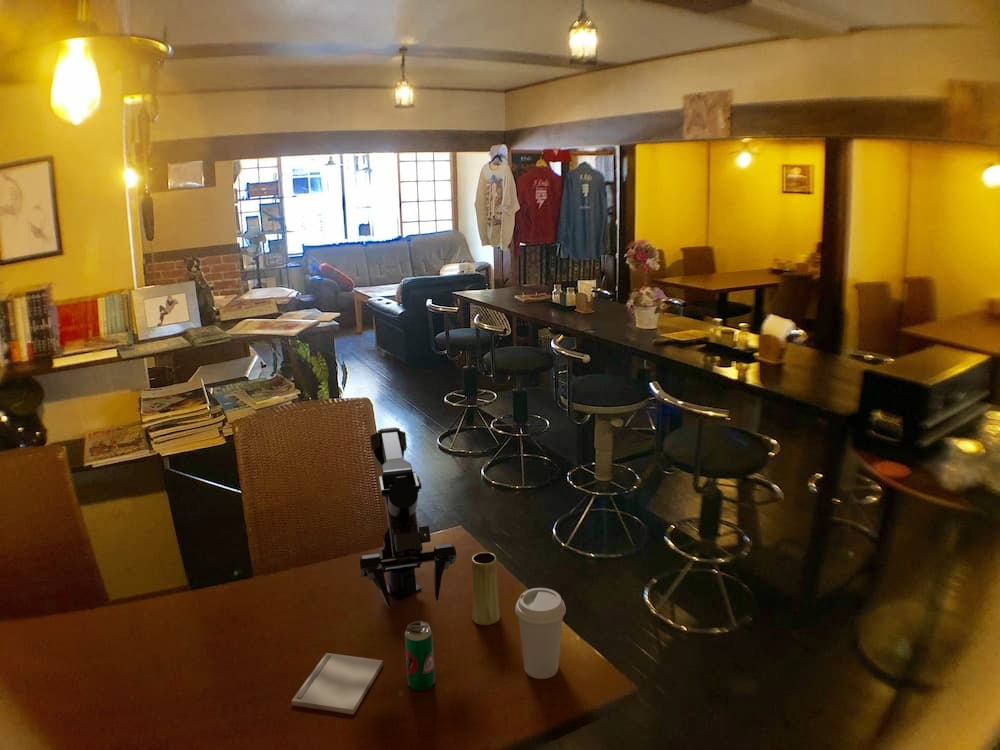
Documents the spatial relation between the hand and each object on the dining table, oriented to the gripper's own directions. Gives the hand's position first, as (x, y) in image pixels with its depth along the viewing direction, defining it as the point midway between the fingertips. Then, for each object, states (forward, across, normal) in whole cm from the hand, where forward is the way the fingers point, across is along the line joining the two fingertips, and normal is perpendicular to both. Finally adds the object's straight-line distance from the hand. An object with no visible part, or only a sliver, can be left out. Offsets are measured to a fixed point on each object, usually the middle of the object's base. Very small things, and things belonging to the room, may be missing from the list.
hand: (413, 603), depth 141 cm
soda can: (+14, 0, +5) cm, 15 cm away
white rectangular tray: (+11, -15, +7) cm, 20 cm away
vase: (+2, +16, +17) cm, 24 cm away
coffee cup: (+15, +23, +3) cm, 28 cm away
